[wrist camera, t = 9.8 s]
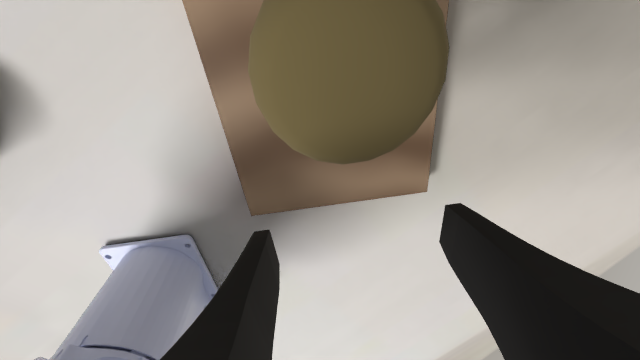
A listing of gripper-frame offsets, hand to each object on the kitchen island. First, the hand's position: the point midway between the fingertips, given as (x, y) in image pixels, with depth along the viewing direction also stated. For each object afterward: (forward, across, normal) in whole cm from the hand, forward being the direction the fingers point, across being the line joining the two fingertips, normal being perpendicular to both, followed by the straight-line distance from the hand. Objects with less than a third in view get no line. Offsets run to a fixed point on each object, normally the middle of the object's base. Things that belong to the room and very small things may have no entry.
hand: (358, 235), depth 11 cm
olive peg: (+9, 0, -6) cm, 11 cm away
